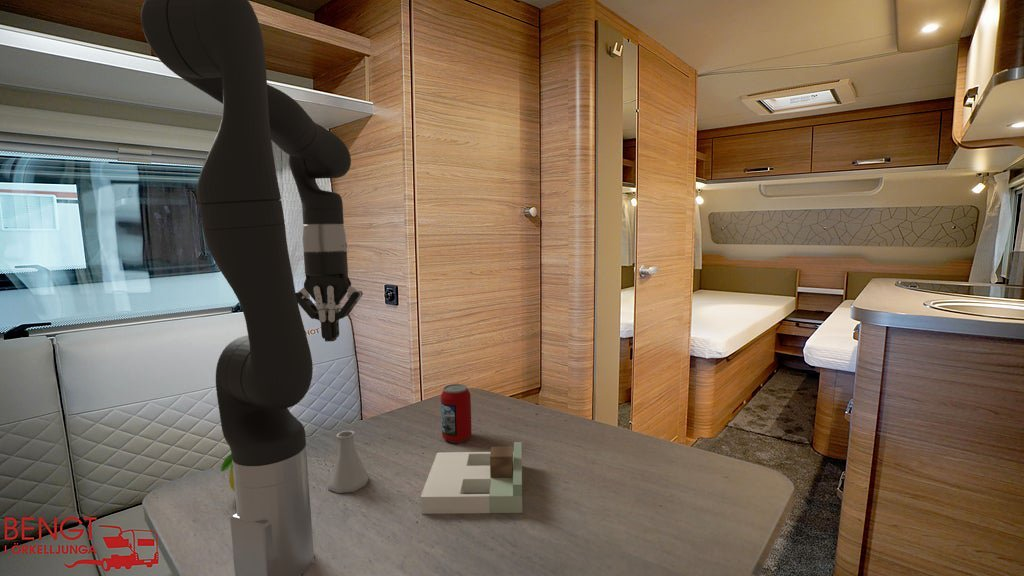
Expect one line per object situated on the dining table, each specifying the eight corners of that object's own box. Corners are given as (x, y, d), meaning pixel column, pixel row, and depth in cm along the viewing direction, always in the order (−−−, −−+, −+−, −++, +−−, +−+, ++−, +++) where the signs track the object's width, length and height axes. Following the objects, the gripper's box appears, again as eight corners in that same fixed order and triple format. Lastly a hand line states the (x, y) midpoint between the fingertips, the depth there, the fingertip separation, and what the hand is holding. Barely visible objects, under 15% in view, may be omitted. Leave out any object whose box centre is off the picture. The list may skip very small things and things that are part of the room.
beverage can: (438, 435, 113) (436, 385, 111) (466, 430, 115) (464, 381, 114) (447, 447, 106) (445, 394, 105) (476, 440, 109) (474, 389, 108)
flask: (356, 496, 87) (353, 443, 86) (320, 492, 89) (316, 440, 87) (375, 476, 94) (372, 427, 93) (341, 473, 96) (339, 424, 94)
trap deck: (421, 513, 81) (419, 485, 81) (437, 466, 97) (436, 442, 97) (522, 512, 81) (521, 484, 80) (521, 465, 97) (521, 441, 97)
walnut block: (490, 478, 87) (489, 456, 86) (491, 467, 91) (491, 446, 90) (512, 477, 86) (512, 456, 86) (513, 467, 90) (512, 446, 90)
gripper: (280, 250, 86) (287, 345, 88) (353, 249, 86) (358, 344, 88) (299, 249, 94) (305, 336, 96) (367, 247, 93) (371, 336, 95)
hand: (331, 340), depth 92 cm, fingers closed
